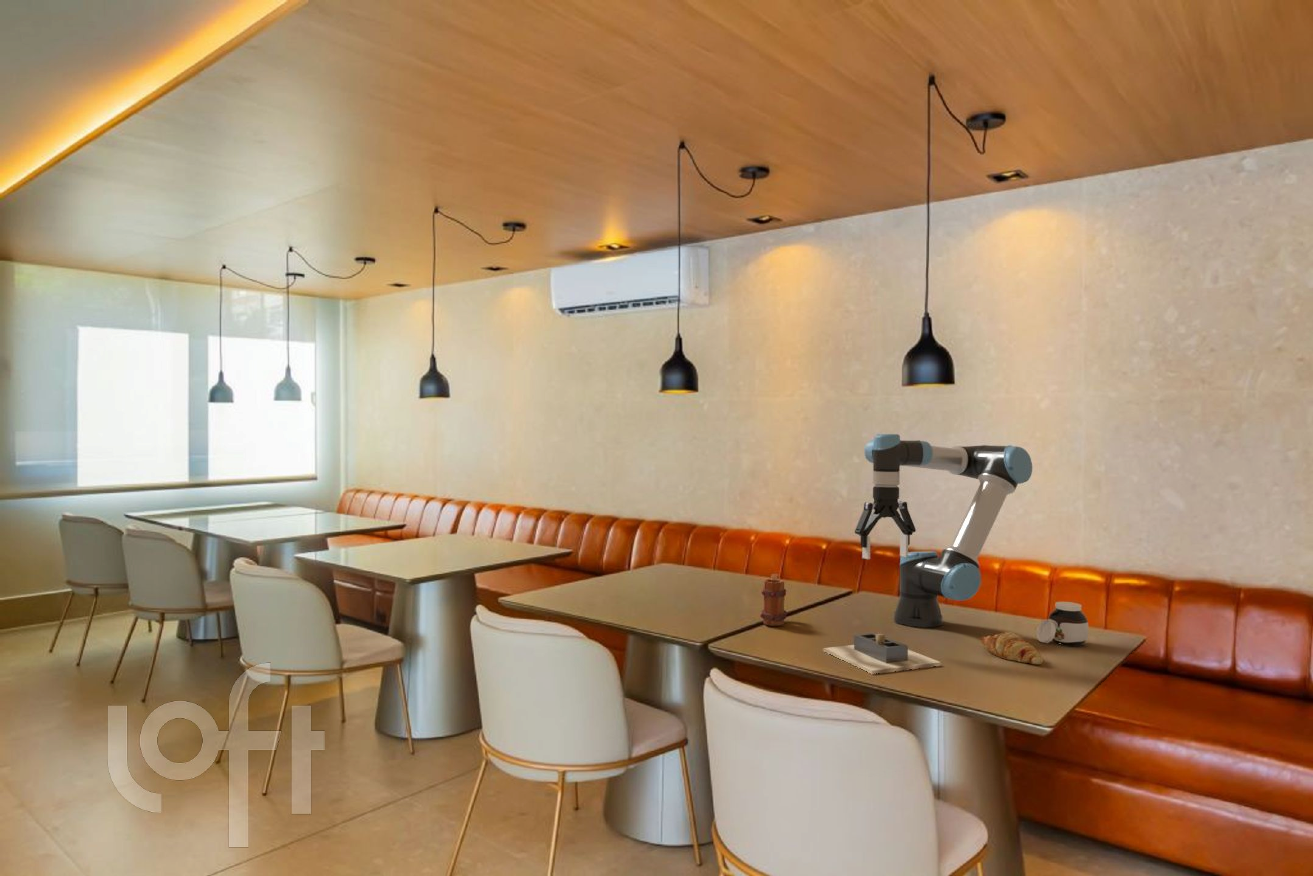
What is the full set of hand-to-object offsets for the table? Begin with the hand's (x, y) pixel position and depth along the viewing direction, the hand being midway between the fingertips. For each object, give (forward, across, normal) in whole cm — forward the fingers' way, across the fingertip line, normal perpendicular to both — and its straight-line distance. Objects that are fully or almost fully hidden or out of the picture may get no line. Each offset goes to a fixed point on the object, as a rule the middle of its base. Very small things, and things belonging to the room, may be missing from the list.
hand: (885, 557), depth 233 cm
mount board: (+25, +13, +15) cm, 32 cm away
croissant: (+25, -23, +26) cm, 42 cm away
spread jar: (+25, -48, +20) cm, 58 cm away
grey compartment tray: (+24, +13, +15) cm, 31 cm away
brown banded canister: (+25, +20, -30) cm, 44 cm away
